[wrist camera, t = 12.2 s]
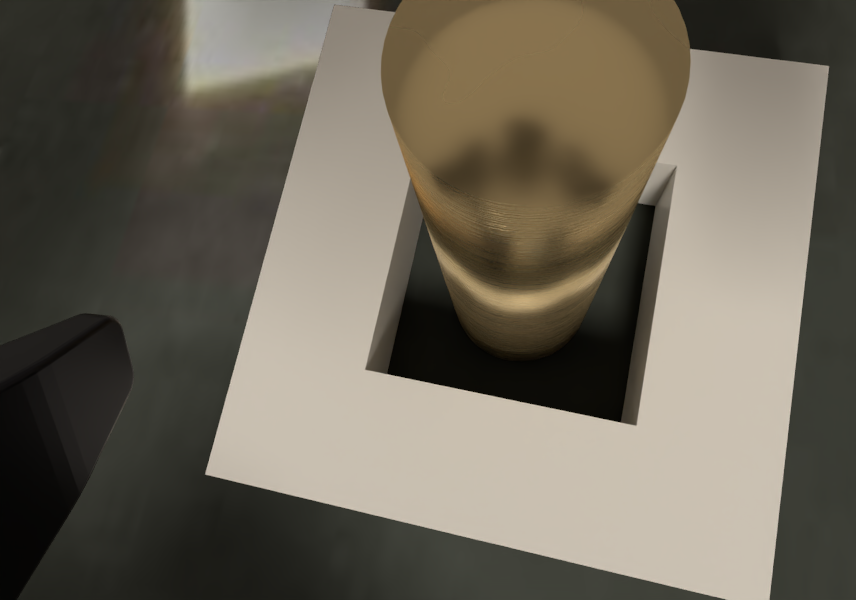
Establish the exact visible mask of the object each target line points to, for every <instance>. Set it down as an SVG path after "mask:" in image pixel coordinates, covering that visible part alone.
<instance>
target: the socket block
mask: <svg viewBox="0 0 856 600" xmlns="http://www.w3.org/2000/svg"><path fill="white" fill-rule="evenodd" d="M394 14H395V12H389V11H381V10H373V9H365V8H357V7H349V6H341V5H334V7H333V11H332V15H331V18H330V22H329V26H328V29H327V33H326V37H325V40H324V44H323V47H322V51H321V55H320V58H319V62H318V66H317V69H316V73H315V77H314V80H313V84H312V87H311V91H310V95H309V98H308V102H307V106H306V109H305V113H304V117H303V120H302V124H301V127H300V131H299V135H298V138H297V142H296V146H295V149H294V153H293V157H292V160H291V164H290V167H289V171H288V175H287V178H286V182H285V186H284V189H283V193H282V197H281V200H280V204H279V207H278V211H277V215H276V218H275V222H274V226H273V229H272V233H271V237H270V240H269V244H268V248H267V251H266V255H265V258H264V262H263V266H262V269H261V273H260V277H259V280H258V284H257V288H256V291H255V295H254V298H253V302H252V306H251V309H250V313H249V317H248V320H247V324H246V328H245V331H244V335H243V338H242V342H241V346H240V349H239V353H238V357H237V360H236V364H235V368H234V371H233V375H232V378H231V382H230V386H229V389H228V393H227V397H226V400H225V404H224V408H223V411H222V415H221V418H220V422H219V426H218V429H217V433H216V437H215V440H214V444H213V448H212V451H211V455H210V458H209V462H208V466H207V469H206V473H205V475H210V476H214V477H218V478H222V479H226V480H230V481H235V482H239V483H243V484H247V485H251V486H255V487H260V488H264V489H268V490H272V491H276V492H280V493H285V494H289V495H293V496H297V497H301V498H305V499H310V500H314V501H318V502H322V503H326V504H331V505H335V506H339V507H343V508H347V509H351V510H356V511H360V512H364V513H368V514H372V515H376V516H381V517H385V518H389V519H393V520H397V521H401V522H406V523H410V524H414V525H418V526H422V527H426V528H431V529H435V530H439V531H443V532H447V533H452V534H456V535H460V536H464V537H468V538H472V539H477V540H481V541H485V542H489V543H493V544H497V545H502V546H506V547H510V548H514V549H518V550H522V551H527V552H531V553H535V554H539V555H543V556H547V557H552V558H556V559H560V560H564V561H568V562H573V563H577V564H581V565H585V566H589V567H593V568H598V569H602V570H606V571H610V572H614V573H618V574H623V575H627V576H631V577H635V578H639V579H643V580H648V581H652V582H656V583H660V584H664V585H668V586H673V587H677V588H681V589H685V590H689V591H693V592H698V593H702V594H706V595H710V596H714V597H719V598H723V599H727V600H769V597H770V588H771V580H772V571H773V562H774V553H775V544H776V535H777V526H778V517H779V508H780V499H781V490H782V481H783V472H784V463H785V455H786V446H787V437H788V428H789V419H790V410H791V401H792V392H793V383H794V374H795V365H796V356H797V347H798V339H799V330H800V321H801V312H802V303H803V294H804V285H805V276H806V267H807V258H808V249H809V240H810V231H811V222H812V214H813V205H814V196H815V187H816V178H817V169H818V160H819V151H820V142H821V133H822V124H823V115H824V106H825V98H826V89H827V80H828V71H829V66H824V65H816V64H808V63H800V62H792V61H784V60H776V59H768V58H759V57H751V56H743V55H735V54H727V53H719V52H711V51H703V50H695V49H690V57H691V66H690V78H689V84H688V88H687V92H686V97H685V100H684V103H683V105H682V108H681V110H680V113H679V115H678V118H677V120H676V122H675V124H674V126H673V128H672V130H671V133H670V135H669V137H668V139H667V141H666V143H665V145H664V148H663V150H662V152H661V154H660V156H659V158H658V160H657V163H656V165H655V167H654V169H653V171H652V173H651V175H650V178H649V180H648V182H647V184H646V186H645V188H644V191H643V193H642V195H641V197H640V199H639V201H638V203H640V204H647V205H653V206H655V212H654V218H653V225H652V231H651V237H650V243H649V250H648V256H647V262H646V268H645V275H644V281H643V287H642V293H641V300H640V306H639V312H638V318H637V325H636V331H635V337H634V343H633V350H632V356H631V362H630V368H629V375H628V381H627V387H626V393H625V400H624V406H623V412H622V418H621V423H620V422H615V421H610V420H606V419H601V418H596V417H591V416H586V415H581V414H577V413H572V412H567V411H562V410H557V409H552V408H548V407H543V406H538V405H533V404H528V403H523V402H519V401H514V400H509V399H504V398H499V397H494V396H490V395H485V394H480V393H475V392H470V391H465V390H461V389H456V388H451V387H446V386H441V385H436V384H432V383H427V382H422V381H417V380H412V379H407V378H403V377H398V376H393V375H388V374H387V371H388V367H389V363H390V358H391V354H392V350H393V345H394V341H395V337H396V332H397V328H398V324H399V319H400V315H401V311H402V306H403V302H404V298H405V293H406V289H407V285H408V280H409V276H410V272H411V267H412V263H413V259H414V254H415V250H416V246H417V241H418V237H419V233H420V228H421V224H422V219H423V214H422V211H421V208H420V205H419V202H418V199H417V197H416V194H415V191H414V188H413V185H412V182H411V179H410V176H409V173H408V170H407V167H406V164H405V161H404V158H403V155H402V152H401V150H400V147H399V144H398V141H397V138H396V135H395V132H394V129H393V126H392V123H391V120H390V117H389V114H388V111H387V108H386V104H385V100H384V96H383V92H382V83H381V56H382V51H383V46H384V40H385V37H386V34H387V31H388V28H389V25H390V22H391V20H392V18H393V16H394Z"/></svg>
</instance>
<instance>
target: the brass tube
mask: <svg viewBox="0 0 856 600" xmlns="http://www.w3.org/2000/svg"><path fill="white" fill-rule="evenodd" d="M690 66H691V57H690V43H689V39H688V35H687V30H686V26H685V23H684V21H683V18H682V15H681V13H680V10H679V8H678V6H677V5H676V3H675V1H674V0H402V2H401V3H400V5H399V6H398V8H397V10H396V12H395V14H394V16H393V18H392V20H391V22H390V25H389V28H388V31H387V34H386V37H385V40H384V46H383V51H382V56H381V83H382V92H383V96H384V100H385V104H386V108H387V111H388V114H389V117H390V120H391V123H392V126H393V129H394V132H395V135H396V138H397V141H398V144H399V147H400V150H401V152H402V155H403V158H404V161H405V164H406V167H407V170H408V173H409V176H410V179H411V182H412V185H413V188H414V191H415V194H416V197H417V199H418V202H419V205H420V208H421V211H422V214H423V217H424V220H425V223H426V226H427V229H428V232H429V235H430V238H431V241H432V243H433V246H434V249H435V252H436V255H437V258H438V261H439V264H440V267H441V270H442V273H443V276H444V279H445V282H446V285H447V288H448V290H449V293H450V296H451V299H452V302H453V305H454V308H455V311H456V314H457V317H458V319H459V322H460V324H461V326H462V328H463V330H464V331H465V333H466V334H467V336H468V337H469V338H470V339H471V340H472V341H473V342H474V343H475V344H476V345H477V346H478V347H479V348H481V349H482V350H483V351H485V352H487V353H488V354H490V355H492V356H495V357H497V358H500V359H504V360H508V361H515V362H527V361H534V360H538V359H542V358H545V357H547V356H549V355H552V354H553V353H555V352H557V351H558V350H560V349H561V348H562V347H564V346H565V345H566V344H567V343H568V342H569V341H570V340H571V339H572V338H573V336H574V335H575V334H576V333H577V331H578V329H579V327H580V326H581V324H582V321H583V319H584V317H585V315H586V313H587V311H588V308H589V306H590V304H591V302H592V300H593V298H594V296H595V293H596V291H597V289H598V287H599V285H600V283H601V281H602V278H603V276H604V274H605V272H606V270H607V268H608V266H609V263H610V261H611V259H612V257H613V255H614V253H615V251H616V248H617V246H618V244H619V242H620V240H621V238H622V236H623V233H624V231H625V229H626V227H627V225H628V223H629V221H630V218H631V216H632V214H633V212H634V210H635V208H636V206H637V203H638V201H639V199H640V197H641V195H642V193H643V191H644V188H645V186H646V184H647V182H648V180H649V178H650V175H651V173H652V171H653V169H654V167H655V165H656V163H657V160H658V158H659V156H660V154H661V152H662V150H663V148H664V145H665V143H666V141H667V139H668V137H669V135H670V133H671V130H672V128H673V126H674V124H675V122H676V120H677V118H678V115H679V113H680V110H681V108H682V105H683V103H684V100H685V97H686V92H687V88H688V84H689V78H690Z"/></svg>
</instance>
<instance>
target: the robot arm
mask: <svg viewBox="0 0 856 600" xmlns="http://www.w3.org/2000/svg"><path fill="white" fill-rule="evenodd" d="M133 381H134V371H133V366H132V362H131V358H130V355H129V351H128V347H127V343H126V339H125V336H124V332H123V328H122V325H121V324H120V322H119V321H118V320H117V319H116V318H114V317H112V316H106V315H97V314H86V313H85V314H79V315H76V316H74V317H71V318H69V319H66V320H64V321H61V322H59V323H56V324H54V325H51V326H49V327H46V328H44V329H41V330H39V331H36V332H34V333H31V334H29V335H26V336H24V337H21V338H18V339H16V340H13V341H11V342H8V343H6V344H3V345H1V346H0V600H17V598H18V597H19V595H20V593H21V592H22V590H23V589H24V587H25V585H26V584H27V582H28V580H29V579H30V577H31V576H32V574H33V572H34V571H35V569H36V567H37V566H38V564H39V563H40V561H41V559H42V558H43V556H44V554H45V553H46V551H47V550H48V548H49V546H50V545H51V543H52V541H53V540H54V538H55V537H56V535H57V533H58V532H59V530H60V528H61V527H62V525H63V524H64V522H65V520H66V519H67V517H68V515H69V514H70V512H71V510H72V509H73V507H74V505H75V503H76V502H77V500H78V498H79V497H80V495H81V493H82V491H83V489H84V487H85V485H86V483H87V481H88V479H89V478H90V475H91V473H92V471H93V469H94V467H95V465H96V463H97V461H98V459H99V457H100V455H101V452H102V450H103V448H104V446H105V444H106V442H107V440H108V438H109V436H110V434H111V432H112V429H113V427H114V425H115V423H116V421H117V419H118V417H119V415H120V413H121V411H122V409H123V407H124V404H125V402H126V400H127V398H128V396H129V394H130V392H131V389H132V386H133Z"/></svg>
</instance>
